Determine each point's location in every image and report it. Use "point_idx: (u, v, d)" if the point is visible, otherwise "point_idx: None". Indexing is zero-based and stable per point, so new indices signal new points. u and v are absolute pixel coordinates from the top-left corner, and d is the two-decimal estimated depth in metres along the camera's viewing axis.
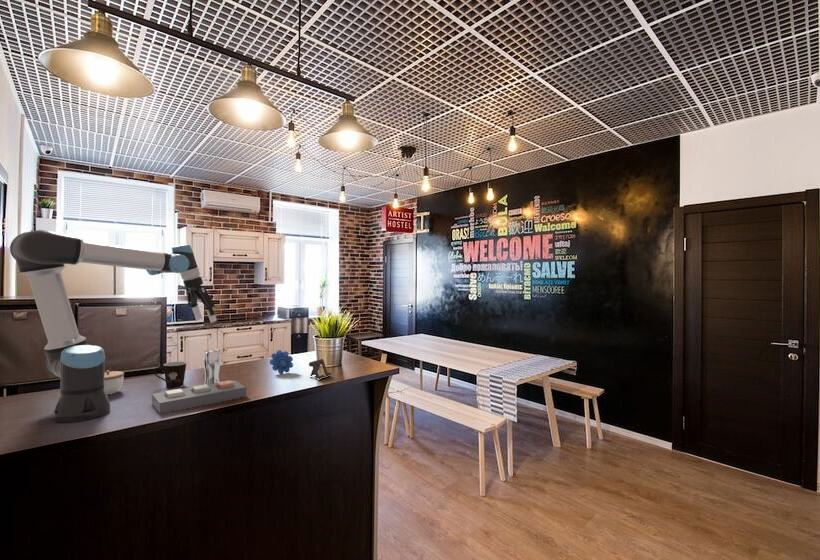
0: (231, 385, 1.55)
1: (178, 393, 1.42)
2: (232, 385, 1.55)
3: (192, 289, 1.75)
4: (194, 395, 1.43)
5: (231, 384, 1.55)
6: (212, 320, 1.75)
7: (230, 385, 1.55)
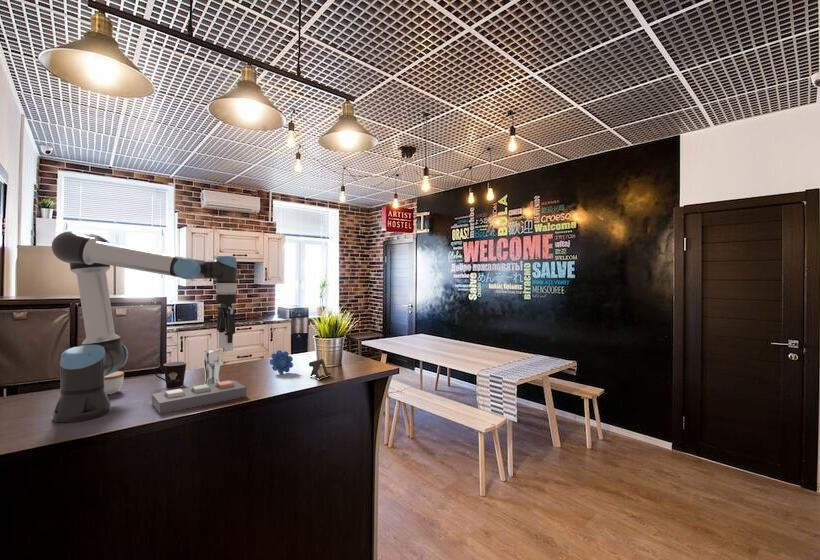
0: (231, 385, 1.55)
1: (178, 393, 1.42)
2: (232, 385, 1.55)
3: (222, 304, 1.56)
4: (194, 395, 1.43)
5: (231, 384, 1.55)
6: (227, 349, 1.52)
7: (230, 385, 1.55)
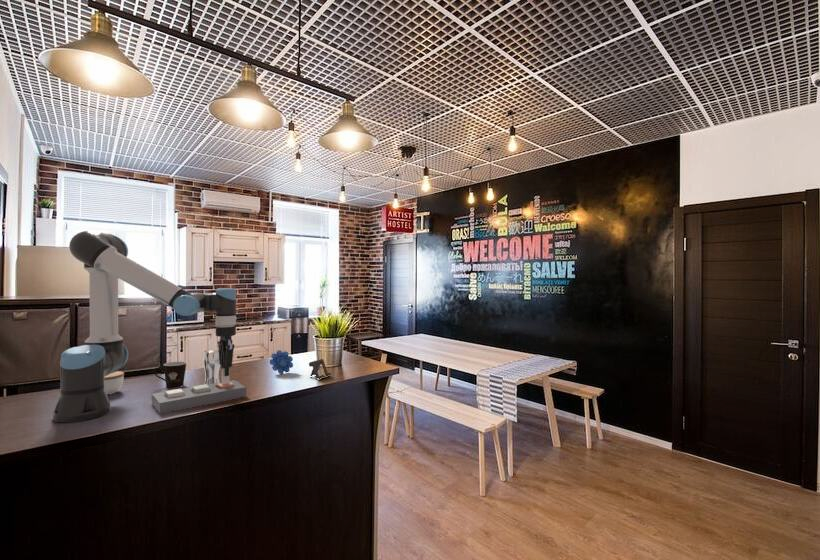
0: (231, 386, 1.55)
1: (178, 393, 1.42)
2: (232, 386, 1.55)
3: None
4: (194, 395, 1.43)
5: (231, 385, 1.55)
6: (224, 381, 1.55)
7: (230, 386, 1.55)
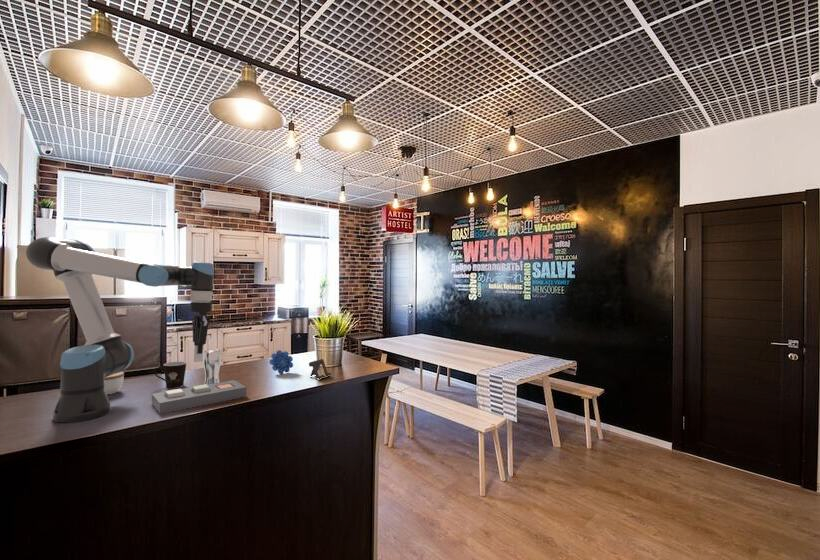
0: None
1: (178, 393, 1.42)
2: None
3: None
4: (194, 395, 1.43)
5: None
6: (197, 359, 1.49)
7: None
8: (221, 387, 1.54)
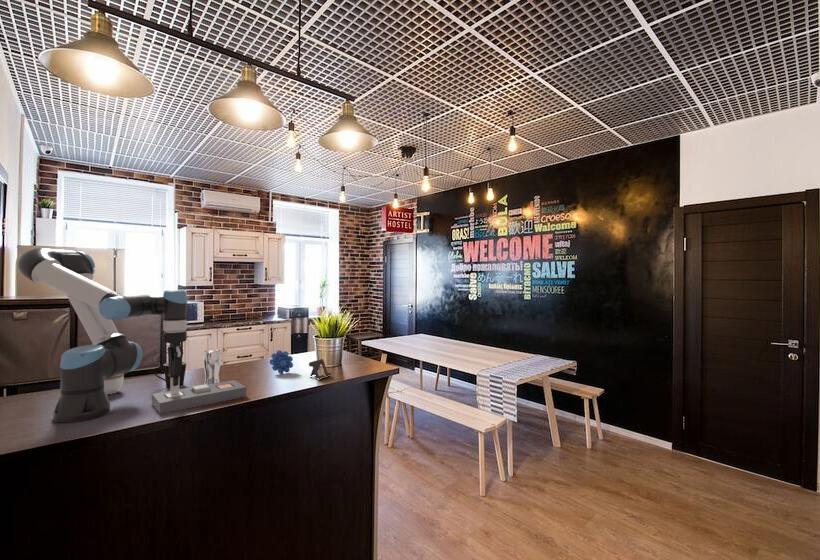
0: None
1: (178, 396, 1.42)
2: None
3: None
4: (194, 395, 1.43)
5: None
6: (173, 392, 1.42)
7: None
8: (221, 387, 1.54)
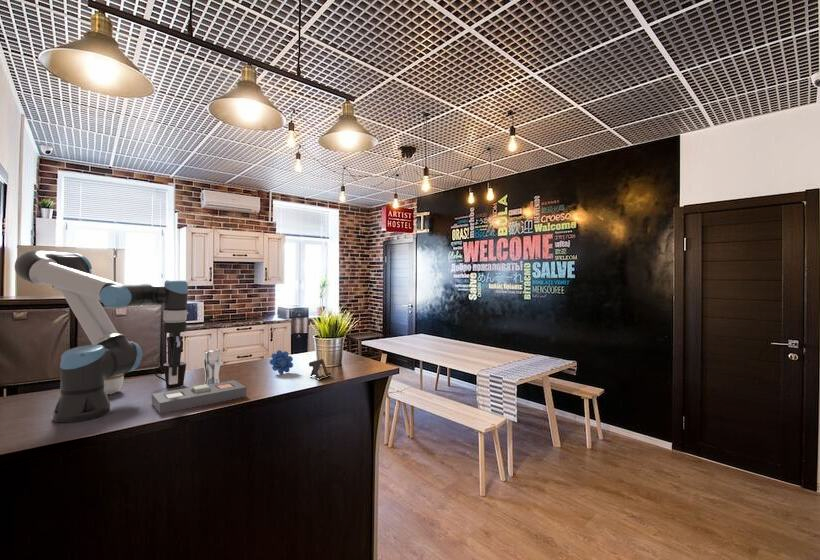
0: None
1: None
2: None
3: None
4: (194, 395, 1.43)
5: None
6: (171, 382, 1.42)
7: None
8: (221, 387, 1.54)
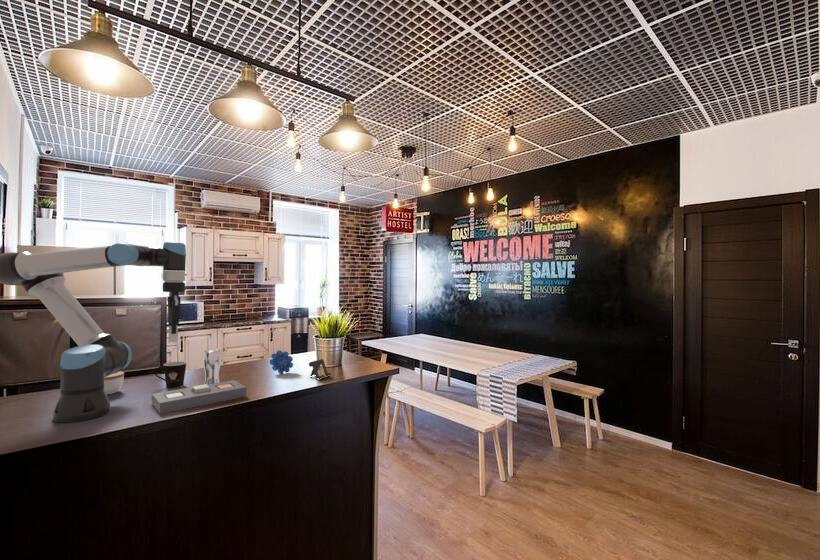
0: None
1: None
2: None
3: None
4: (194, 395, 1.43)
5: None
6: (171, 340, 1.48)
7: None
8: (221, 387, 1.54)
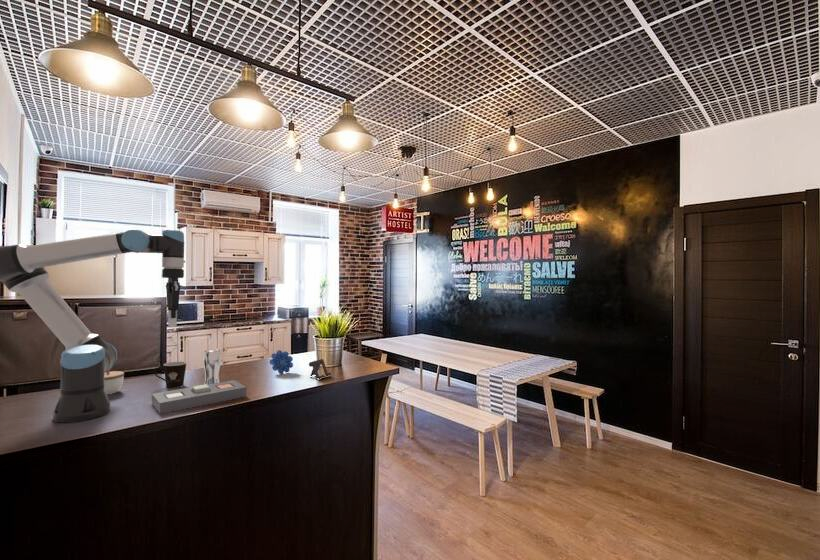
0: None
1: None
2: None
3: (169, 277, 1.55)
4: (194, 395, 1.43)
5: None
6: (171, 324, 1.54)
7: None
8: (221, 387, 1.54)
